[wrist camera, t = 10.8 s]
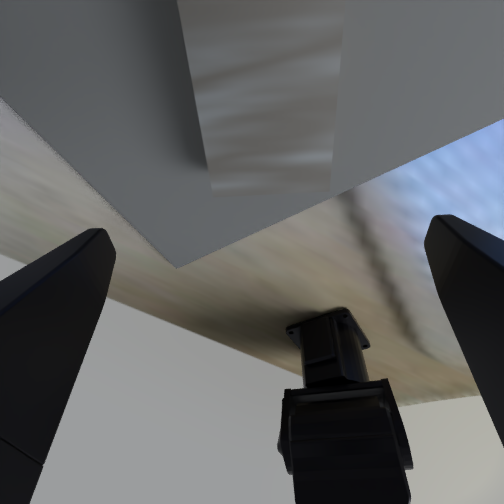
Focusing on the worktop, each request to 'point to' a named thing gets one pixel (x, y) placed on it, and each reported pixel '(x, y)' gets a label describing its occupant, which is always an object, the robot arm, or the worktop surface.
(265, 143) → the tan wooden block
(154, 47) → the mat
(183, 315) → the worktop surface
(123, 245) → the worktop surface
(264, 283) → the worktop surface
